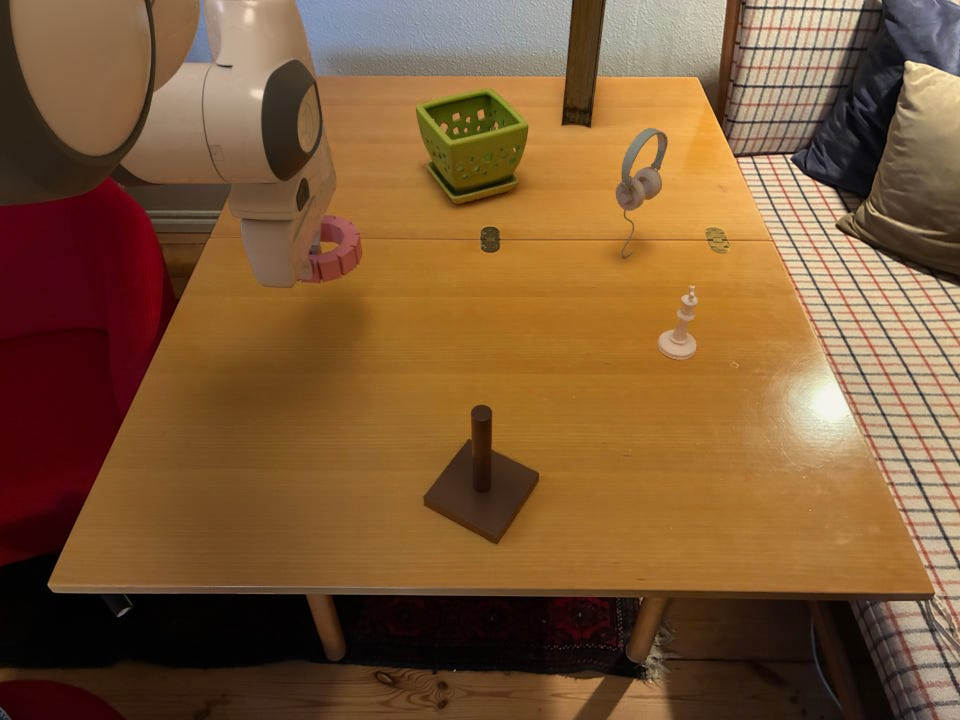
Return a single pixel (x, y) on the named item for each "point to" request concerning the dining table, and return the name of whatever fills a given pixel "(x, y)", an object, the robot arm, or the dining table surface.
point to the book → (582, 60)
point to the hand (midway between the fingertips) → (310, 267)
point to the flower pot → (473, 144)
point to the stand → (481, 483)
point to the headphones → (640, 175)
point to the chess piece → (680, 331)
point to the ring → (336, 250)
